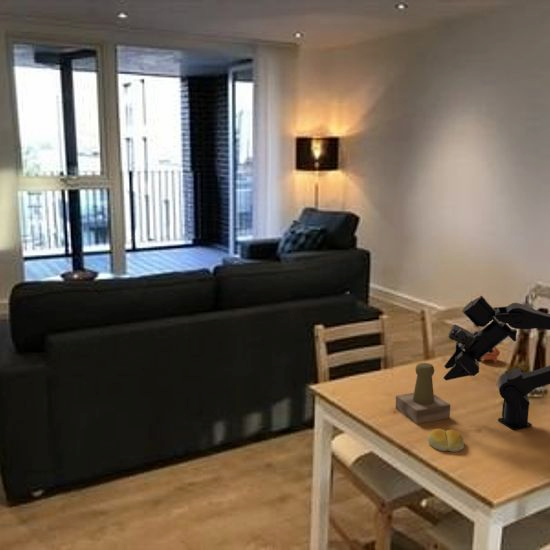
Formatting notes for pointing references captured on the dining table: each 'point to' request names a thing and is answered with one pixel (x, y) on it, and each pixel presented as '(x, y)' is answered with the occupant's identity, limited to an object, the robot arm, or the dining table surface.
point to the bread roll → (446, 440)
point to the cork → (424, 384)
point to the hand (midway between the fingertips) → (444, 373)
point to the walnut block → (422, 409)
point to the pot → (492, 355)
